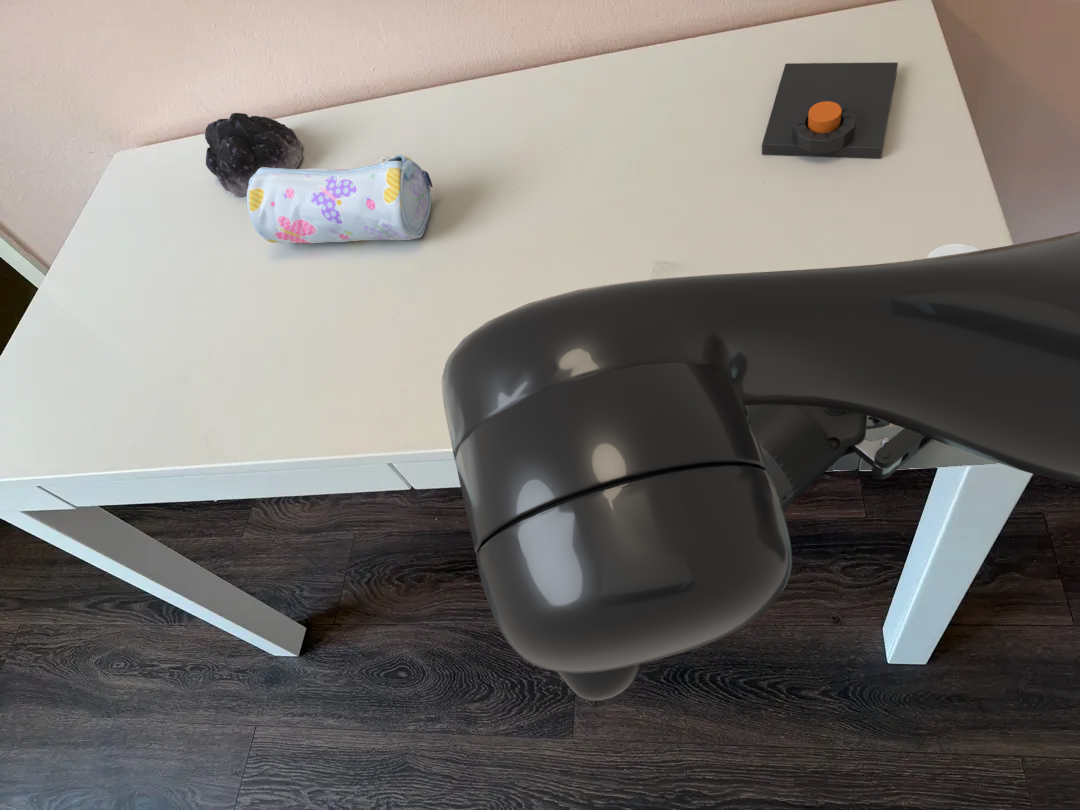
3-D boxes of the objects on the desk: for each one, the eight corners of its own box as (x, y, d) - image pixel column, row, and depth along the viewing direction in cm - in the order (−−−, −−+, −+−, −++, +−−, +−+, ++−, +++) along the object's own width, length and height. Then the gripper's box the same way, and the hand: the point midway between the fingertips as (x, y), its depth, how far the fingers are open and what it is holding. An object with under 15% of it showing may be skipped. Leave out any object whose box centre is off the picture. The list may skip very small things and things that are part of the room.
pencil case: (444, 200, 92) (415, 135, 85) (427, 254, 88) (395, 190, 80) (294, 211, 98) (254, 151, 91) (271, 262, 94) (227, 204, 86)
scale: (896, 73, 86) (900, 48, 83) (879, 165, 79) (882, 142, 76) (785, 73, 90) (785, 50, 88) (759, 161, 83) (759, 138, 81)
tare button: (842, 114, 80) (843, 101, 79) (838, 134, 79) (839, 121, 78) (810, 113, 82) (811, 100, 80) (805, 133, 80) (806, 121, 79)
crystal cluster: (250, 137, 112) (203, 81, 104) (324, 130, 106) (279, 70, 98) (211, 208, 106) (157, 155, 98) (286, 204, 101) (235, 147, 92)
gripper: (834, 508, 49) (999, 353, 52) (677, 384, 57) (828, 256, 60) (826, 553, 55) (974, 412, 58) (685, 435, 63) (822, 316, 66)
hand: (900, 332), depth 59 cm, fingers open, 8 cm apart
